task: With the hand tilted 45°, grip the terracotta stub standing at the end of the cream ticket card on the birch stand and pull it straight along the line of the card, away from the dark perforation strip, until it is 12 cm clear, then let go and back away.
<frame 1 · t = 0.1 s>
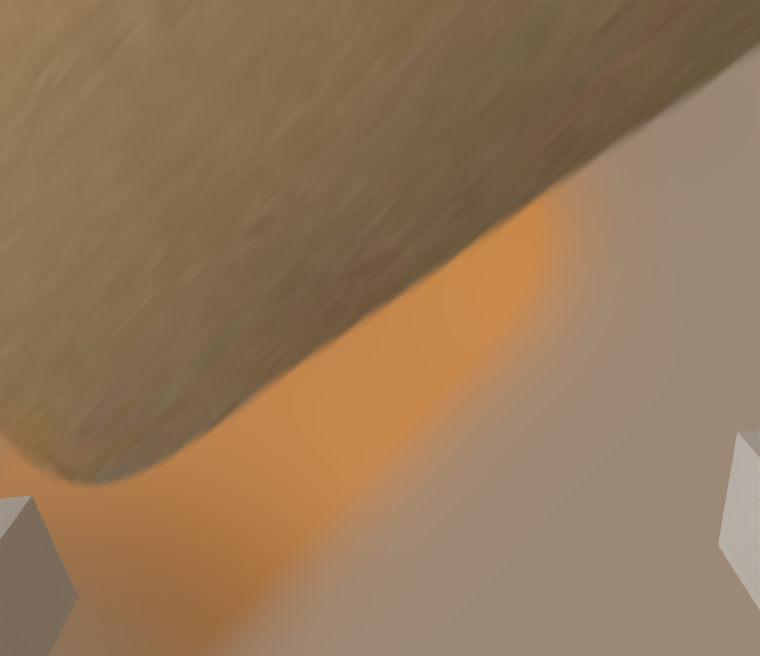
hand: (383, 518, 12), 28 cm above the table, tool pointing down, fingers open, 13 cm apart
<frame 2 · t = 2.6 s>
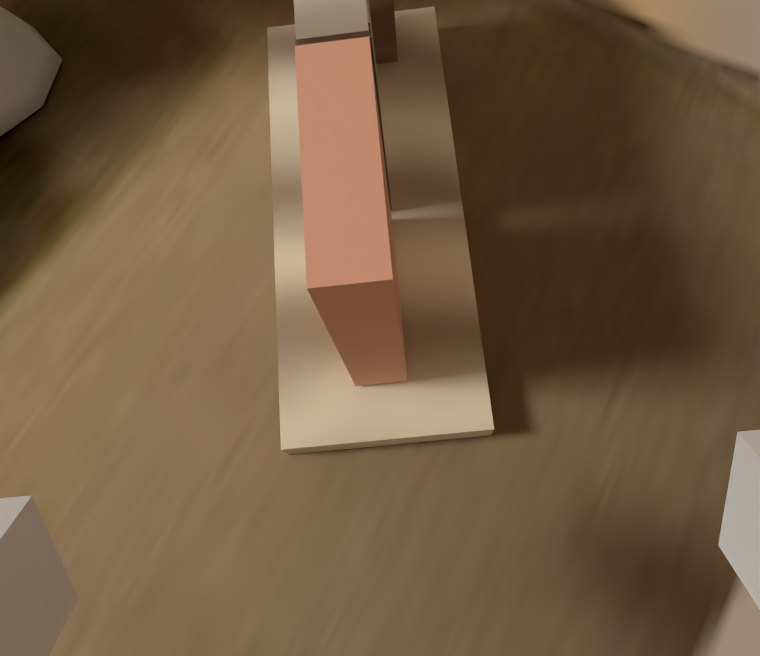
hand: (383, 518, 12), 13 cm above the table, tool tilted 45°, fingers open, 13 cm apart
stub: (361, 242, 20), point 7 cm above the table, slide at 0.0 cm
ticket stand: (369, 219, 28), on the table
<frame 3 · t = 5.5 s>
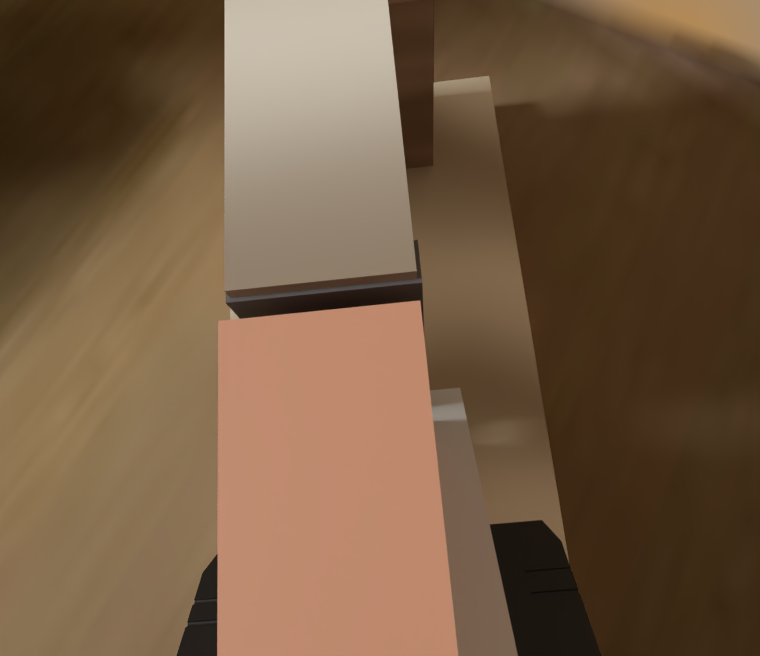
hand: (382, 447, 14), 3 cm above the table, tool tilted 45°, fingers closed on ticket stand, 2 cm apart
stub: (384, 631, 10), point 7 cm above the table, slide at 0.0 cm
ticket stand: (388, 424, 18), on the table
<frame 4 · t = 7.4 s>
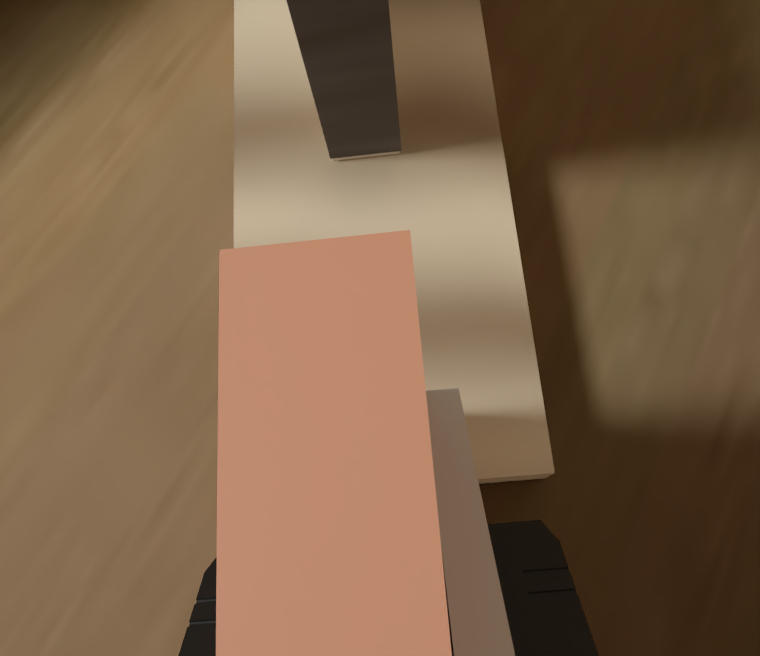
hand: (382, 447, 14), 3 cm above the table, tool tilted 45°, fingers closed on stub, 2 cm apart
stub: (379, 574, 10), point 7 cm above the table, slide at 7.4 cm, touching gripper
ticket stand: (370, 170, 20), on the table
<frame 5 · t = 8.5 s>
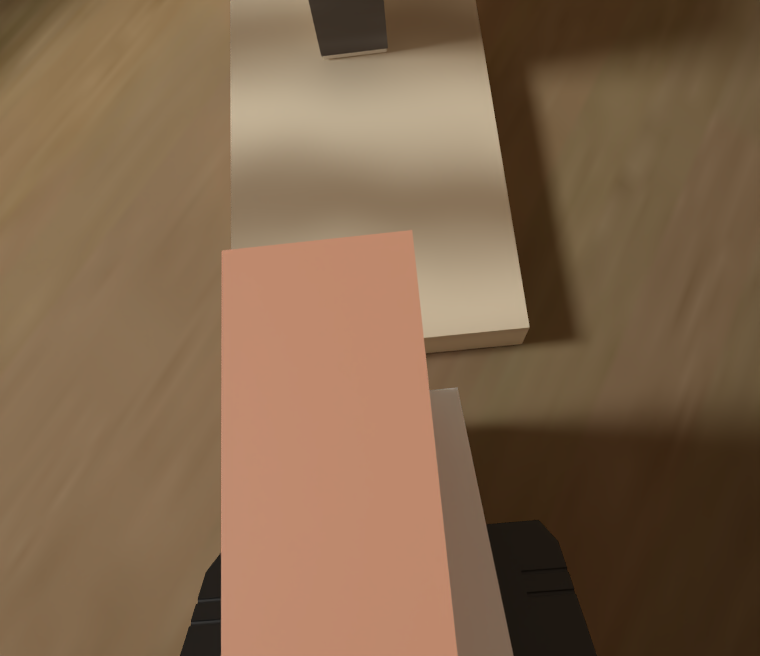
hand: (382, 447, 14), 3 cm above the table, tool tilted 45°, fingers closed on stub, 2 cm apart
stub: (380, 574, 10), point 7 cm above the table, slide at 11.1 cm, touching gripper
ticket stand: (359, 75, 22), on the table
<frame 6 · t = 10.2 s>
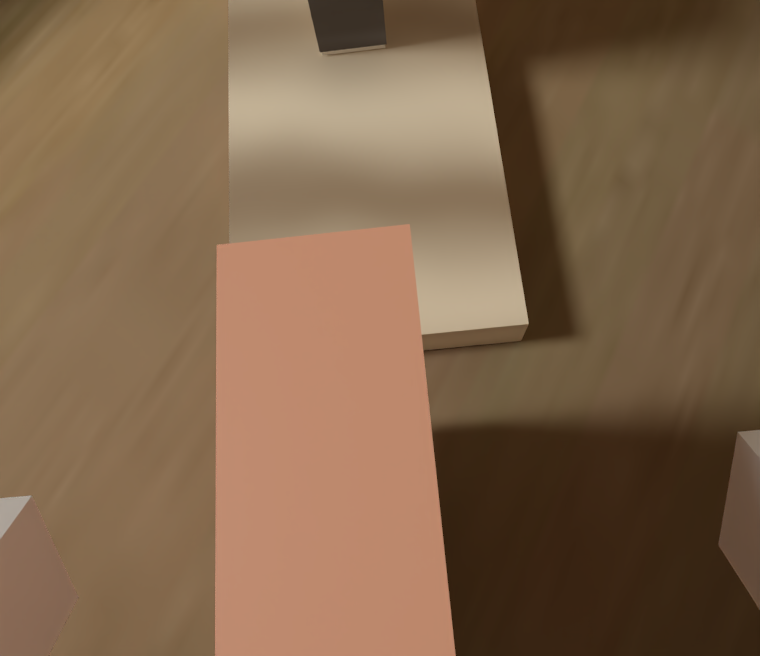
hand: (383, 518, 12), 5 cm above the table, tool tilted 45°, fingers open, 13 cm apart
stub: (378, 573, 10), point 7 cm above the table, slide at 11.2 cm
ticket stand: (357, 72, 21), on the table
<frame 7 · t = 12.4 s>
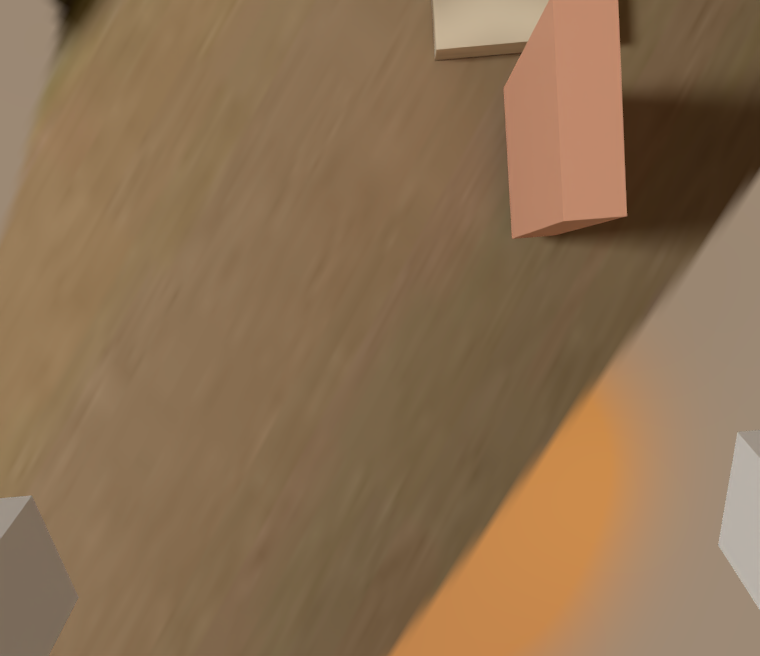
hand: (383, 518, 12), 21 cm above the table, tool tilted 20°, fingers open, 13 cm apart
stub: (553, 139, 25), point 7 cm above the table, slide at 11.2 cm
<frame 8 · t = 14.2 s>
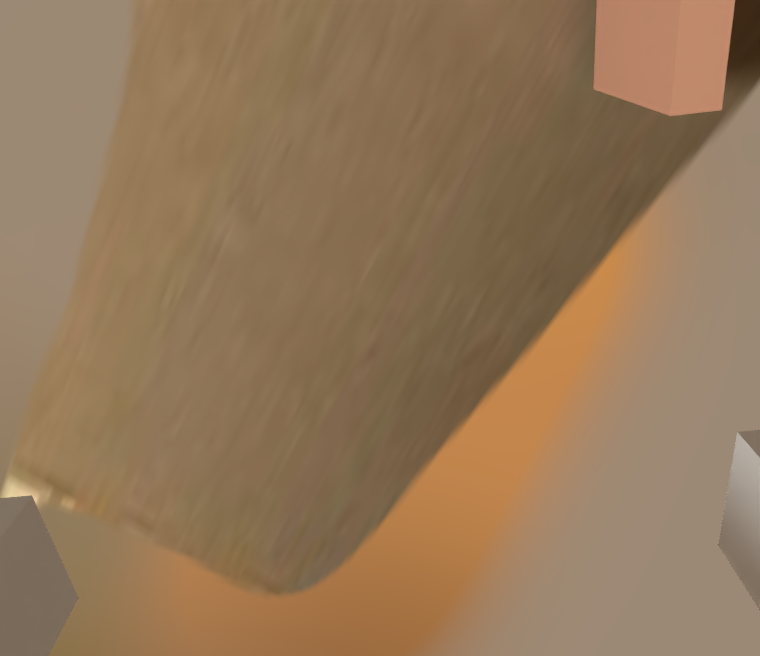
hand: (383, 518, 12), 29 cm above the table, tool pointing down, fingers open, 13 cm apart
stub: (653, 14, 28), point 7 cm above the table, slide at 11.2 cm
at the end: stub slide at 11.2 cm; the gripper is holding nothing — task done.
